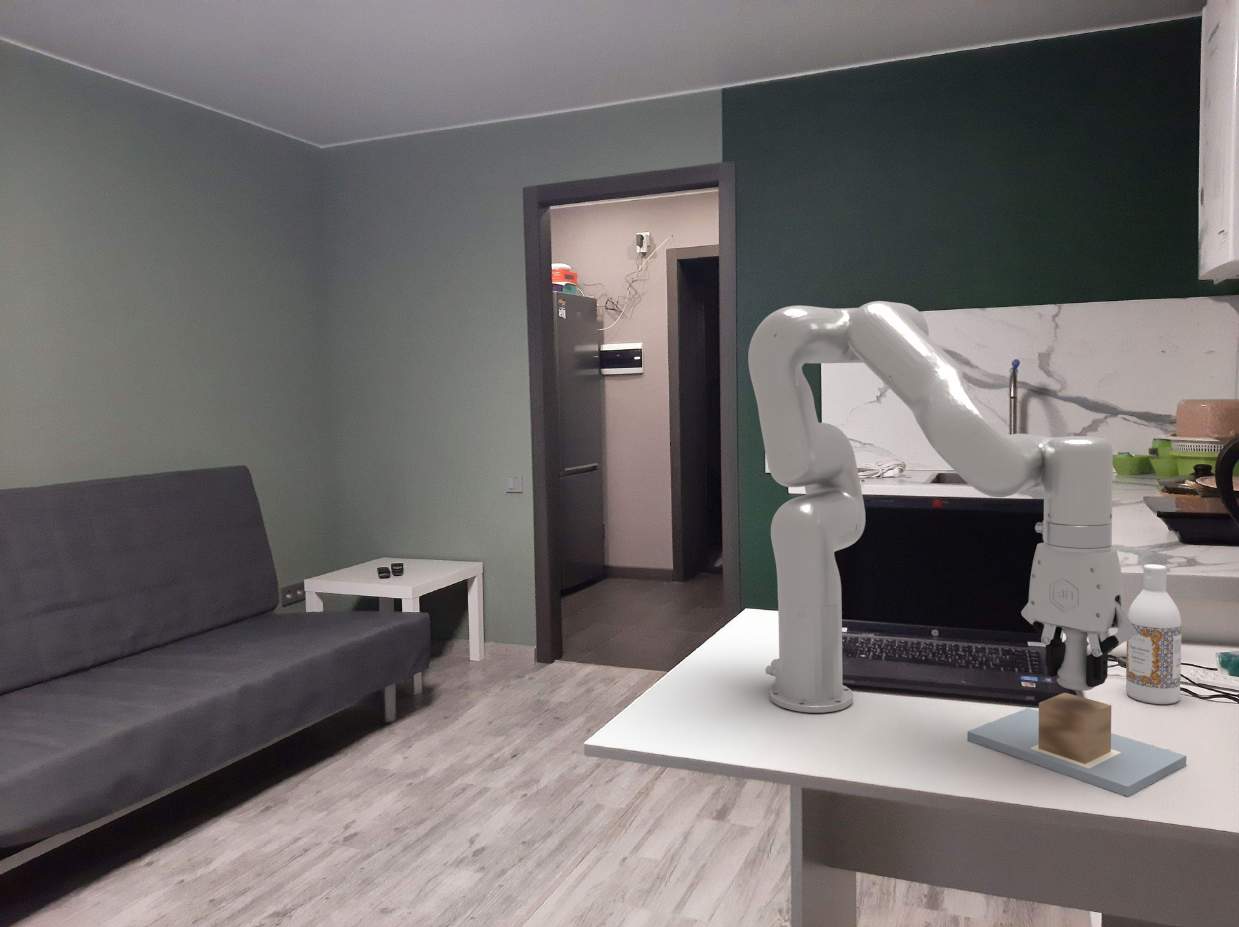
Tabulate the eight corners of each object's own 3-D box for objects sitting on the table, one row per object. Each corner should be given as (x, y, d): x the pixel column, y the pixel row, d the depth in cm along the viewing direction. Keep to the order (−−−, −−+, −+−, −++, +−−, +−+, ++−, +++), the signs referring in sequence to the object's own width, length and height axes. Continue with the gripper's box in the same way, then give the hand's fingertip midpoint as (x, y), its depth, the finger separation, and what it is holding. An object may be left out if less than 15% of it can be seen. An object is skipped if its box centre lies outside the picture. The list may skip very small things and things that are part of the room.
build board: (967, 739, 120) (967, 730, 120) (1027, 715, 127) (1027, 707, 127) (1127, 796, 102) (1127, 786, 102) (1186, 764, 110) (1186, 755, 110)
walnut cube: (1038, 748, 113) (1038, 702, 113) (1064, 736, 117) (1064, 692, 116) (1085, 763, 108) (1085, 716, 108) (1110, 751, 112) (1111, 705, 111)
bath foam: (1115, 694, 135) (1117, 564, 133) (1146, 686, 138) (1148, 559, 136) (1158, 708, 129) (1161, 572, 127) (1190, 700, 131) (1193, 567, 130)
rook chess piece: (1101, 692, 109) (1102, 628, 108) (1062, 690, 110) (1062, 627, 109) (1089, 680, 113) (1090, 618, 113) (1052, 679, 114) (1052, 618, 114)
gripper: (997, 531, 115) (997, 669, 117) (1131, 548, 101) (1129, 704, 103) (1031, 525, 119) (1030, 658, 121) (1164, 540, 105) (1161, 690, 107)
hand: (1075, 677), depth 112 cm, fingers closed on rook chess piece, 4 cm apart
